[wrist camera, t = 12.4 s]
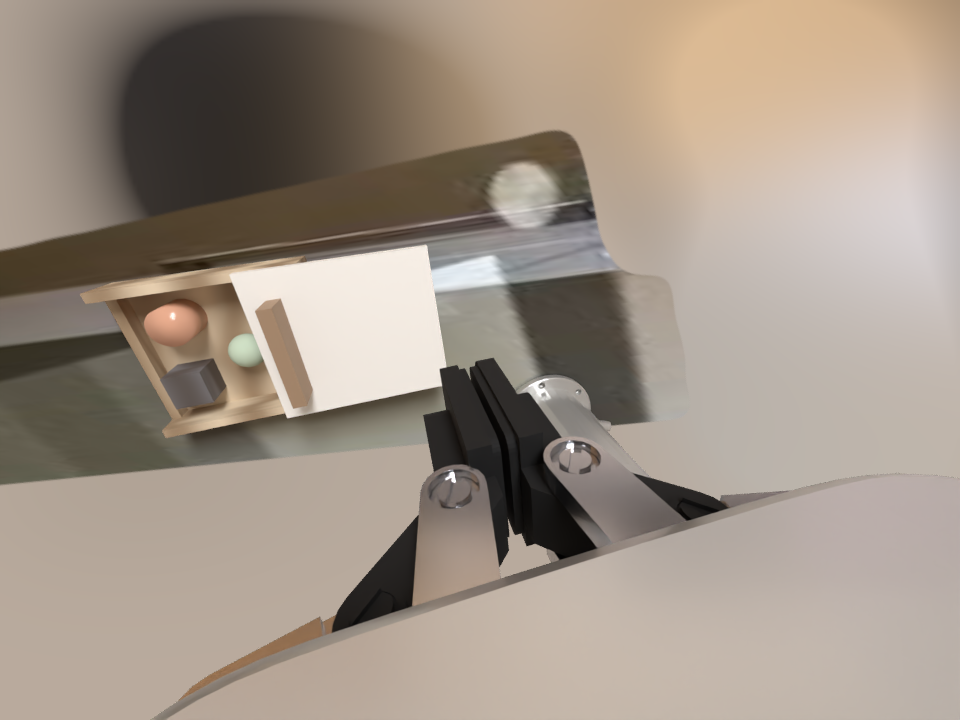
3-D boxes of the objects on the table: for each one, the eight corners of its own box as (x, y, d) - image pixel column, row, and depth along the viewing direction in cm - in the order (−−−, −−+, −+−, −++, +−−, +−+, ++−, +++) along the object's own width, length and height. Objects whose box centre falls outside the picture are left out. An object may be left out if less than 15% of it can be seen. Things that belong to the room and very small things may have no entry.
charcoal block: (213, 358, 36) (199, 372, 33) (226, 386, 37) (214, 402, 35) (177, 364, 36) (159, 379, 33) (192, 392, 37) (176, 409, 34)
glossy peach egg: (208, 303, 34) (192, 313, 31) (207, 337, 35) (192, 349, 32) (163, 294, 33) (143, 304, 30) (164, 330, 34) (144, 342, 31)
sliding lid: (425, 245, 33) (430, 251, 30) (447, 380, 39) (454, 398, 36) (232, 272, 30) (214, 283, 27) (289, 413, 36) (279, 436, 33)
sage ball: (272, 332, 36) (263, 344, 34) (270, 361, 37) (261, 375, 35) (235, 325, 35) (223, 337, 33) (233, 355, 36) (221, 369, 34)
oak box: (304, 255, 35) (296, 263, 31) (344, 383, 41) (340, 401, 37) (112, 282, 32) (79, 294, 29) (185, 415, 38) (166, 438, 35)
